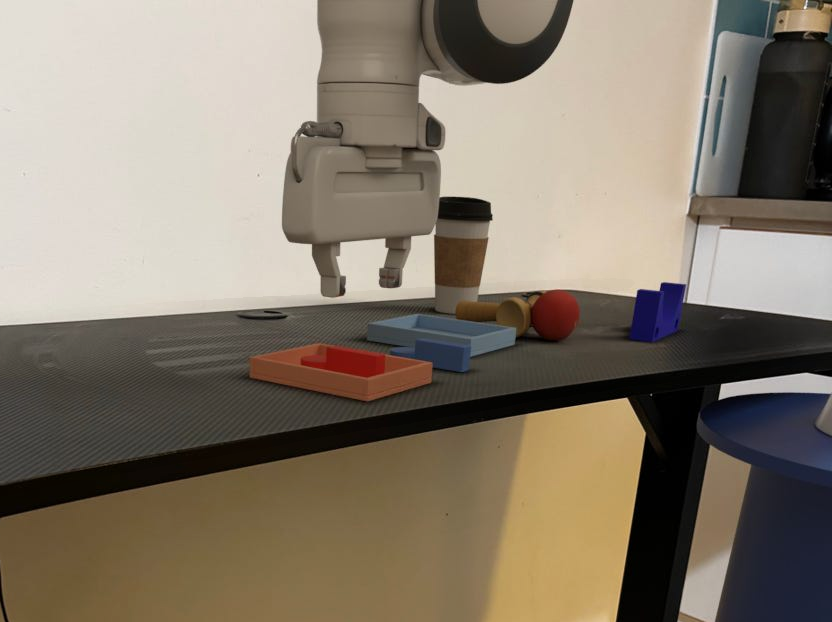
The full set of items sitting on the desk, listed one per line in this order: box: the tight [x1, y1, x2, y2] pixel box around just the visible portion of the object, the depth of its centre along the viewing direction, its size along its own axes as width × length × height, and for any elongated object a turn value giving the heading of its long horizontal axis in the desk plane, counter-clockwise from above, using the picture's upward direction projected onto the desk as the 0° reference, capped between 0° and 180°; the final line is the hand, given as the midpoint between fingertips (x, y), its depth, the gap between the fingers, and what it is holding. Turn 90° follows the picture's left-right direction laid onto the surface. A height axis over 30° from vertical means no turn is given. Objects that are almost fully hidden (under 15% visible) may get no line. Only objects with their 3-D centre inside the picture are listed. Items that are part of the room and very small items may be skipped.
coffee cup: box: [433, 196, 494, 315], centre depth 137 cm, size 8×8×15 cm
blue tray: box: [366, 313, 517, 358], centre depth 116 cm, size 14×11×2 cm
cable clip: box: [628, 281, 687, 343], centre depth 127 cm, size 12×4×6 cm, turn 148°
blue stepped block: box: [389, 338, 471, 373], centre depth 103 cm, size 9×4×3 cm, turn 54°
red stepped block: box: [301, 345, 386, 378], centre depth 95 cm, size 9×4×3 cm, turn 54°
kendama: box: [454, 289, 581, 342], centre depth 123 cm, size 8×6×18 cm
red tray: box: [249, 342, 433, 402], centre depth 95 cm, size 14×11×2 cm
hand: (362, 292), depth 90 cm, fingers open, 8 cm apart
